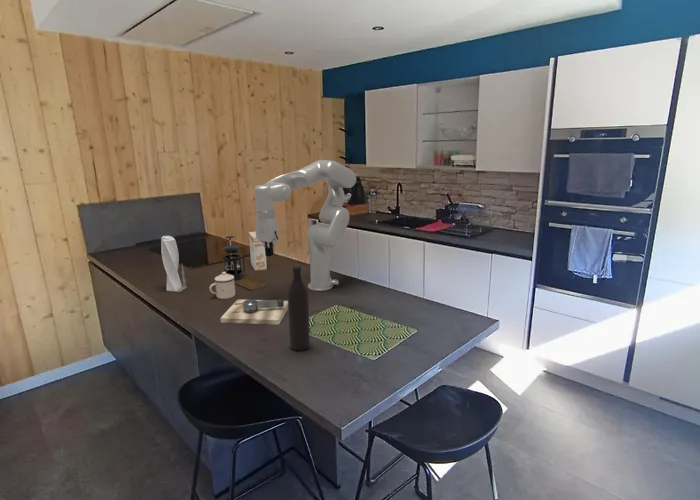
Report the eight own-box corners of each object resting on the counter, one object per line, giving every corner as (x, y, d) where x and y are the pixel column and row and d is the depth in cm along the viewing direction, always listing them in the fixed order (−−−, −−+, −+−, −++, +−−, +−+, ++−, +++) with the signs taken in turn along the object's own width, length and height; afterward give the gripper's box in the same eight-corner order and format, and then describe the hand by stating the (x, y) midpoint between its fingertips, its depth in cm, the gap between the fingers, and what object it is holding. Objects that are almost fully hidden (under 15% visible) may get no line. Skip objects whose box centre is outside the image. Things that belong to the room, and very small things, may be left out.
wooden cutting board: (290, 305, 183) (289, 299, 183) (279, 324, 164) (278, 318, 164) (237, 303, 185) (237, 297, 185) (220, 322, 166) (220, 316, 165)
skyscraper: (177, 293, 198) (170, 236, 191) (162, 292, 200) (155, 236, 192) (187, 287, 206) (181, 232, 199) (173, 286, 208) (166, 232, 200)
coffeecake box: (267, 269, 233) (265, 236, 228) (254, 271, 231) (252, 237, 226) (262, 262, 247) (260, 230, 242) (250, 263, 244) (248, 231, 239)
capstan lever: (234, 312, 168) (233, 306, 168) (235, 306, 174) (235, 300, 173) (284, 309, 172) (283, 302, 171) (283, 303, 177) (283, 297, 177)
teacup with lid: (230, 290, 201) (228, 268, 198) (239, 296, 194) (237, 272, 191) (206, 296, 194) (204, 273, 190) (214, 302, 187) (212, 278, 184)
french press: (226, 282, 212) (222, 239, 206) (220, 277, 220) (216, 236, 214) (248, 278, 219) (245, 236, 213) (241, 273, 226) (238, 233, 220)
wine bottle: (310, 341, 150) (307, 263, 143) (309, 351, 144) (306, 269, 136) (291, 341, 150) (287, 263, 142) (289, 351, 143) (285, 269, 135)
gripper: (247, 214, 176) (251, 255, 181) (270, 218, 167) (274, 260, 173) (261, 211, 182) (265, 250, 187) (284, 214, 173) (287, 256, 178)
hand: (269, 255), depth 180 cm, fingers closed
